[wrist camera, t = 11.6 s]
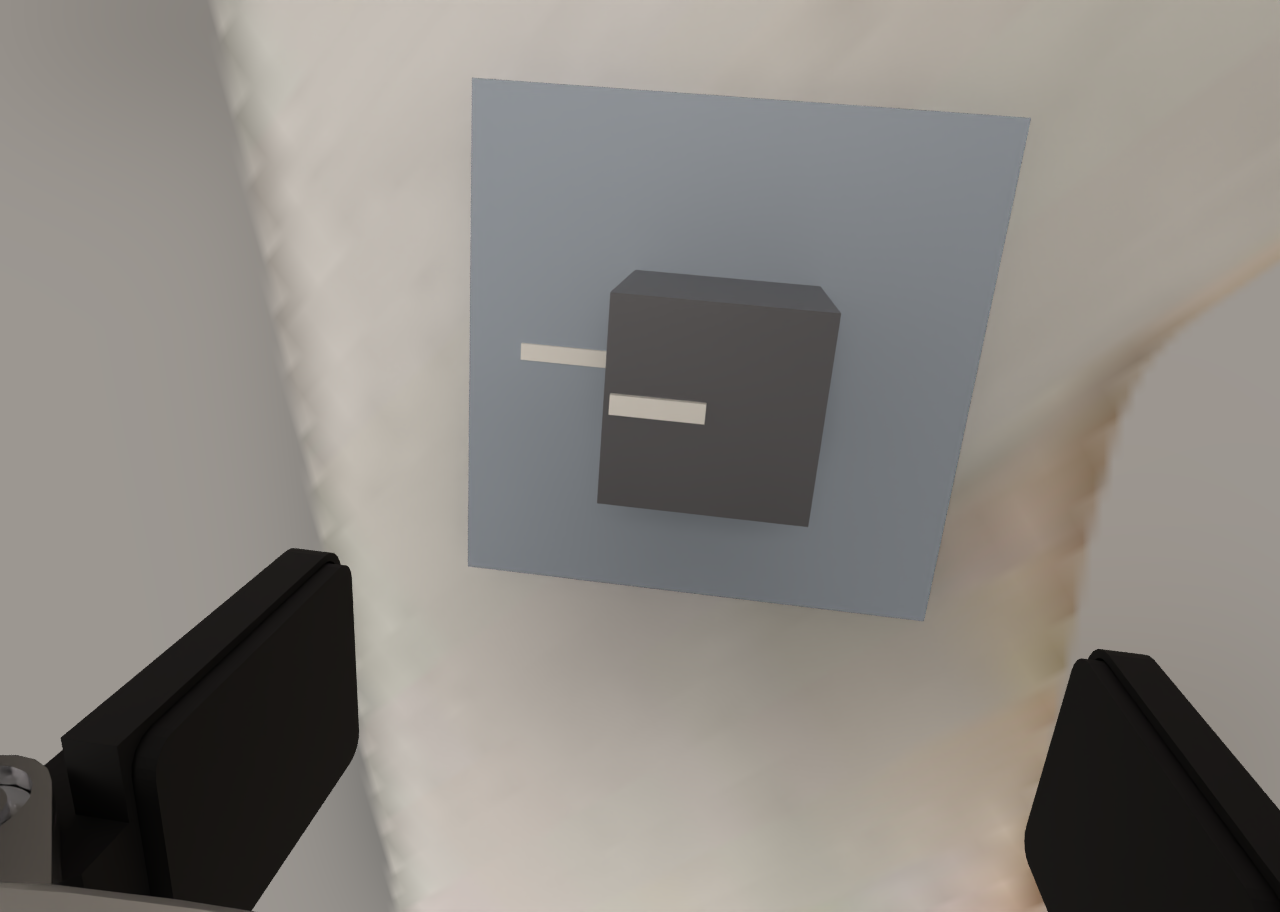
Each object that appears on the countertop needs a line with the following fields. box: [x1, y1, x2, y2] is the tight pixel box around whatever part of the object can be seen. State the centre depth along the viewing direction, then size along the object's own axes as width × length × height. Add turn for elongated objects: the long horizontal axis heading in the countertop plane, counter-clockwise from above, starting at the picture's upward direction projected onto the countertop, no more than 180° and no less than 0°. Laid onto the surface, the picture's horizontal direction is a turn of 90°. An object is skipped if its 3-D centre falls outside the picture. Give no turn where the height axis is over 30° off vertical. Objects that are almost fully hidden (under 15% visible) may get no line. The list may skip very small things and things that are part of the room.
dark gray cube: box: [597, 270, 841, 527], centre depth 27 cm, size 6×6×6 cm
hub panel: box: [468, 78, 1031, 621], centre depth 28 cm, size 18×18×6 cm
